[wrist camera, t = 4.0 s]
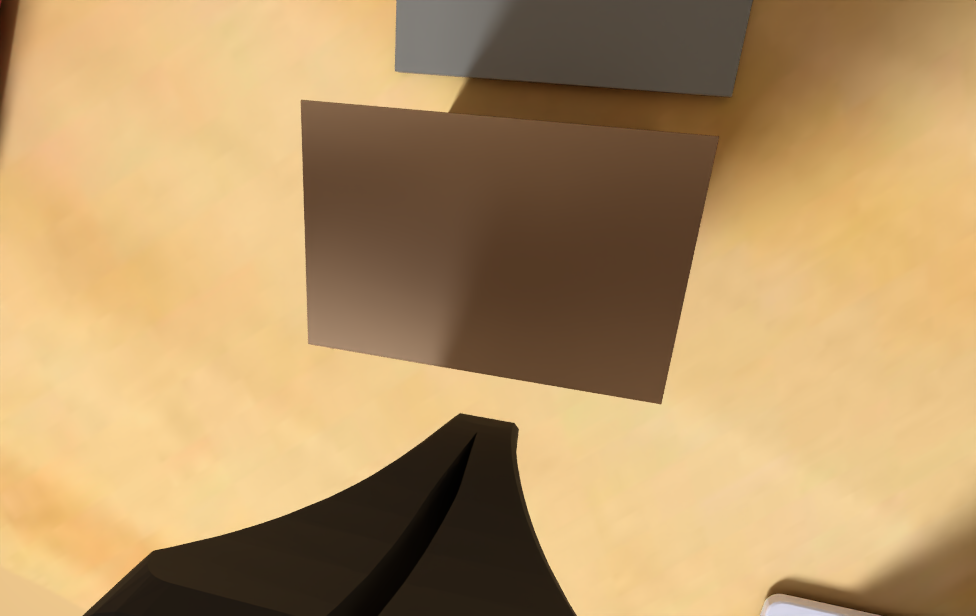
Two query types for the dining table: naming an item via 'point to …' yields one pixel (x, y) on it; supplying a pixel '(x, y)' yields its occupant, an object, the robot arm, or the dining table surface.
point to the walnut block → (501, 243)
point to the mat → (577, 42)
